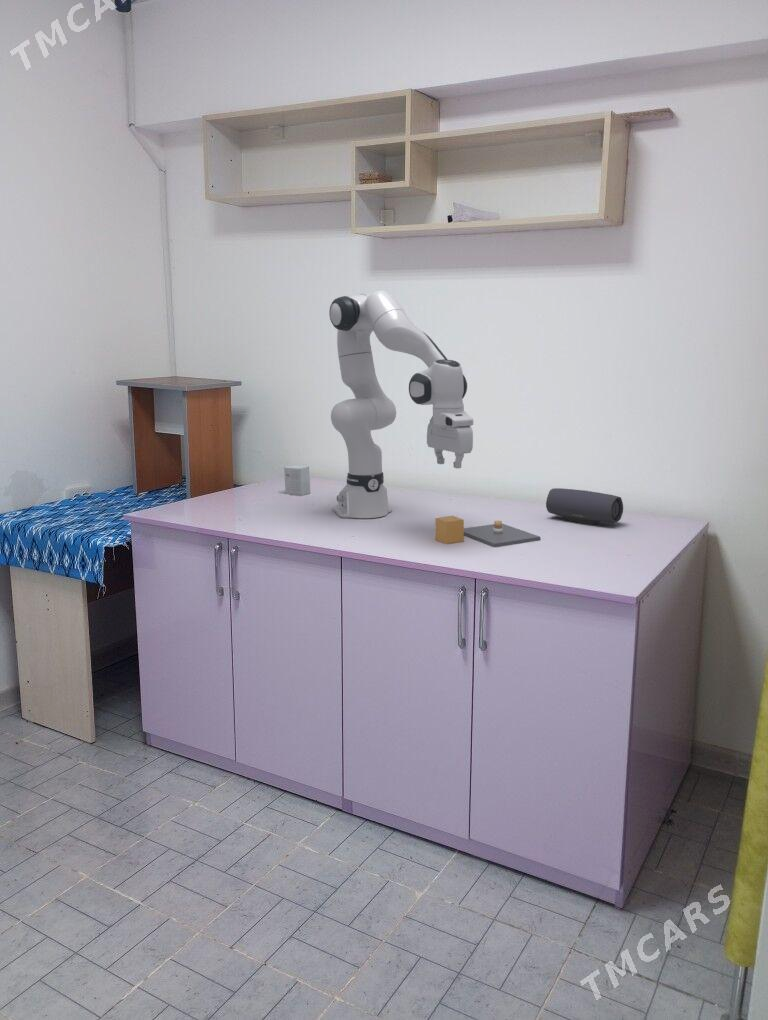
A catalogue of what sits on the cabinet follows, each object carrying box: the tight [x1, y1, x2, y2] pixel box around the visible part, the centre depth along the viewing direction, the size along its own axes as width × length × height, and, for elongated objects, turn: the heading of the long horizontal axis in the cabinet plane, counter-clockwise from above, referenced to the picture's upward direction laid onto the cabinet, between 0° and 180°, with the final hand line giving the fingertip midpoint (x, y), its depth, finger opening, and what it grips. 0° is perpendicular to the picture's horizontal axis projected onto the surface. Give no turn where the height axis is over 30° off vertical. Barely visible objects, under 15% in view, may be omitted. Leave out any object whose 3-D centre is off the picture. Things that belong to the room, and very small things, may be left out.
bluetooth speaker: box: [545, 487, 624, 525], centre depth 263 cm, size 23×9×10 cm, turn 48°
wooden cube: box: [434, 515, 465, 545], centre depth 243 cm, size 6×6×6 cm
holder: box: [464, 520, 541, 548], centre depth 247 cm, size 20×16×4 cm
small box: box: [283, 464, 311, 496], centre depth 315 cm, size 8×6×10 cm
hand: (448, 466), depth 239 cm, fingers open, 8 cm apart
